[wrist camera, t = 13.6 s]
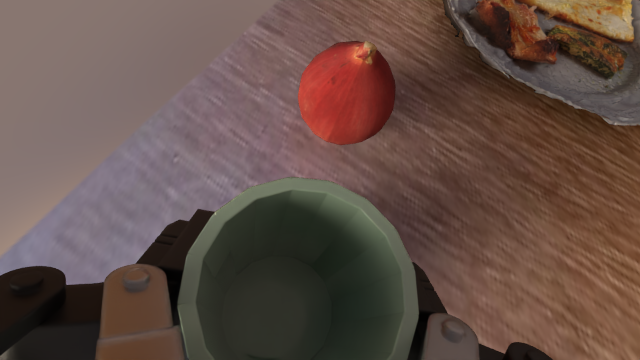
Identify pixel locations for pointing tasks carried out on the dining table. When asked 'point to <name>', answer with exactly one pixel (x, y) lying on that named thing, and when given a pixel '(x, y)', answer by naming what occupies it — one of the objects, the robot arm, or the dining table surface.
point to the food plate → (561, 49)
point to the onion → (347, 92)
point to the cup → (298, 279)
